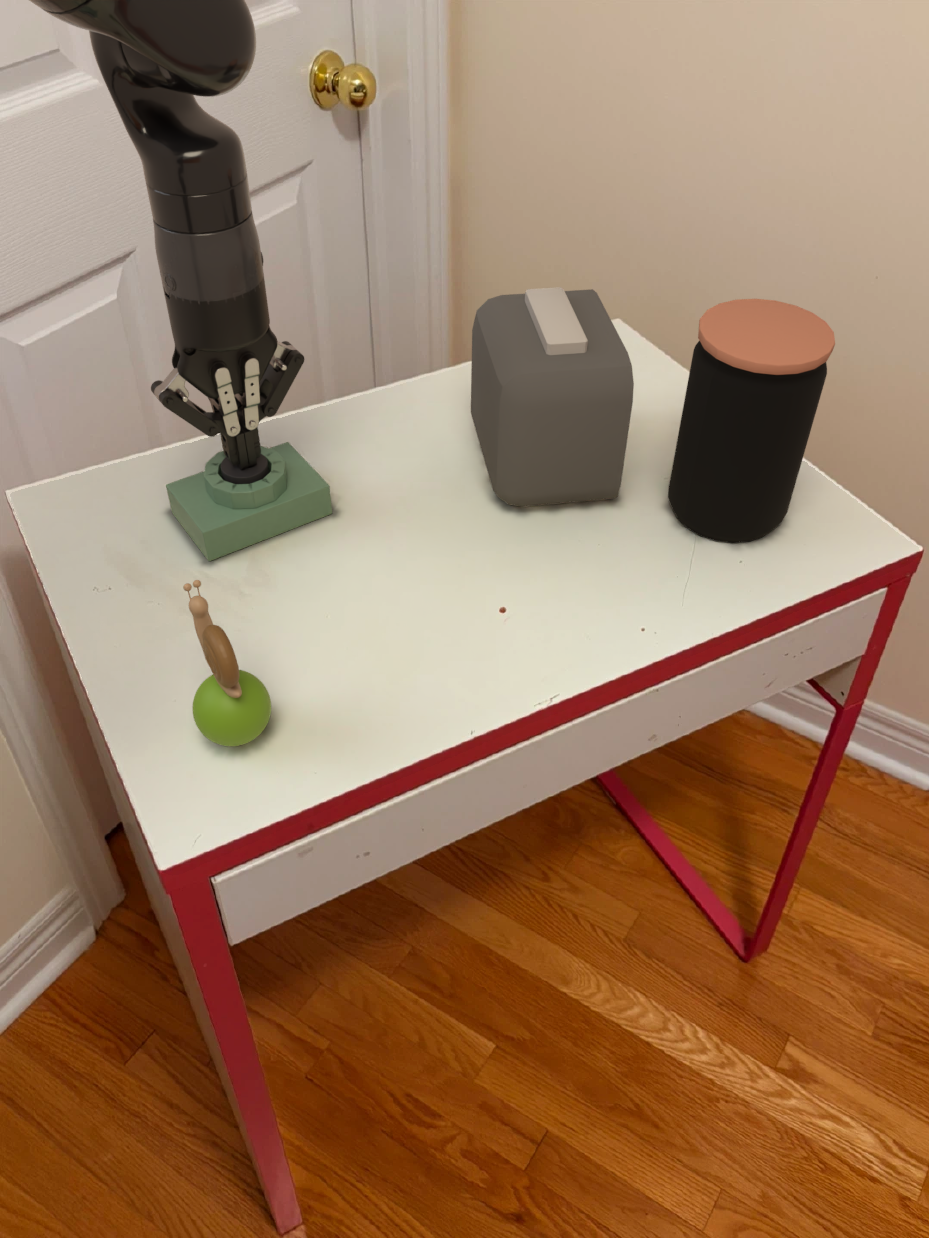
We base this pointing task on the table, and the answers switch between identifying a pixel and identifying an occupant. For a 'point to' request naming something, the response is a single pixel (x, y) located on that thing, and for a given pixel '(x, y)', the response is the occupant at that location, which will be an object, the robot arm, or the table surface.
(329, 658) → the table surface
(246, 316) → the robot arm
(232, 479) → the black button
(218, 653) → the snail figurine
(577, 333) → the alarm clock
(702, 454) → the coffee jar
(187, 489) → the green push button box
